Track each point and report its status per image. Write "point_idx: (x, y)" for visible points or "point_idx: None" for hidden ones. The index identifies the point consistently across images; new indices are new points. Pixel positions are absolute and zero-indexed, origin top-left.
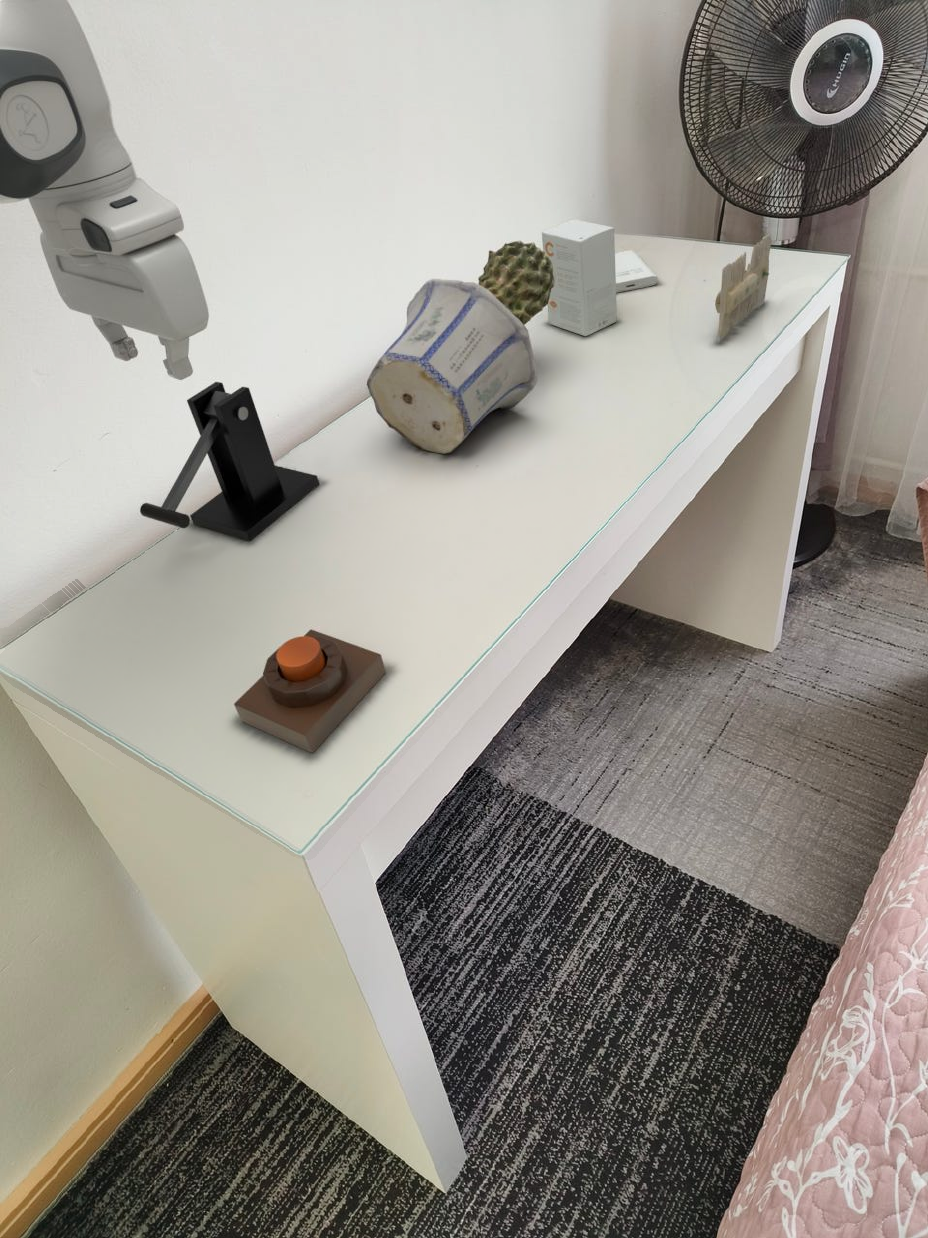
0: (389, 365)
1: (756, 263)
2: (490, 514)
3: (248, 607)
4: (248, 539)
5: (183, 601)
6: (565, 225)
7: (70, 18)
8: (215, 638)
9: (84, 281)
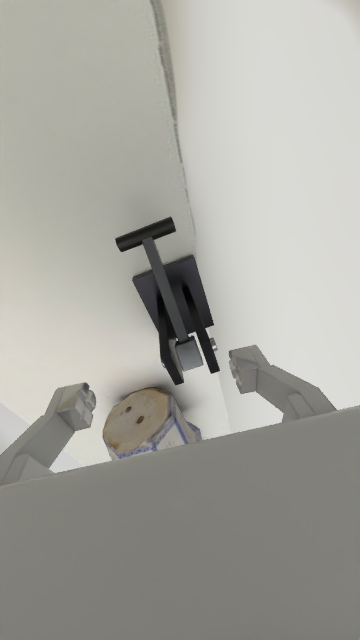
0: (141, 442)
1: None
2: (55, 384)
3: (42, 237)
4: (133, 277)
5: (86, 196)
6: None
7: None
8: (10, 194)
9: (324, 612)
